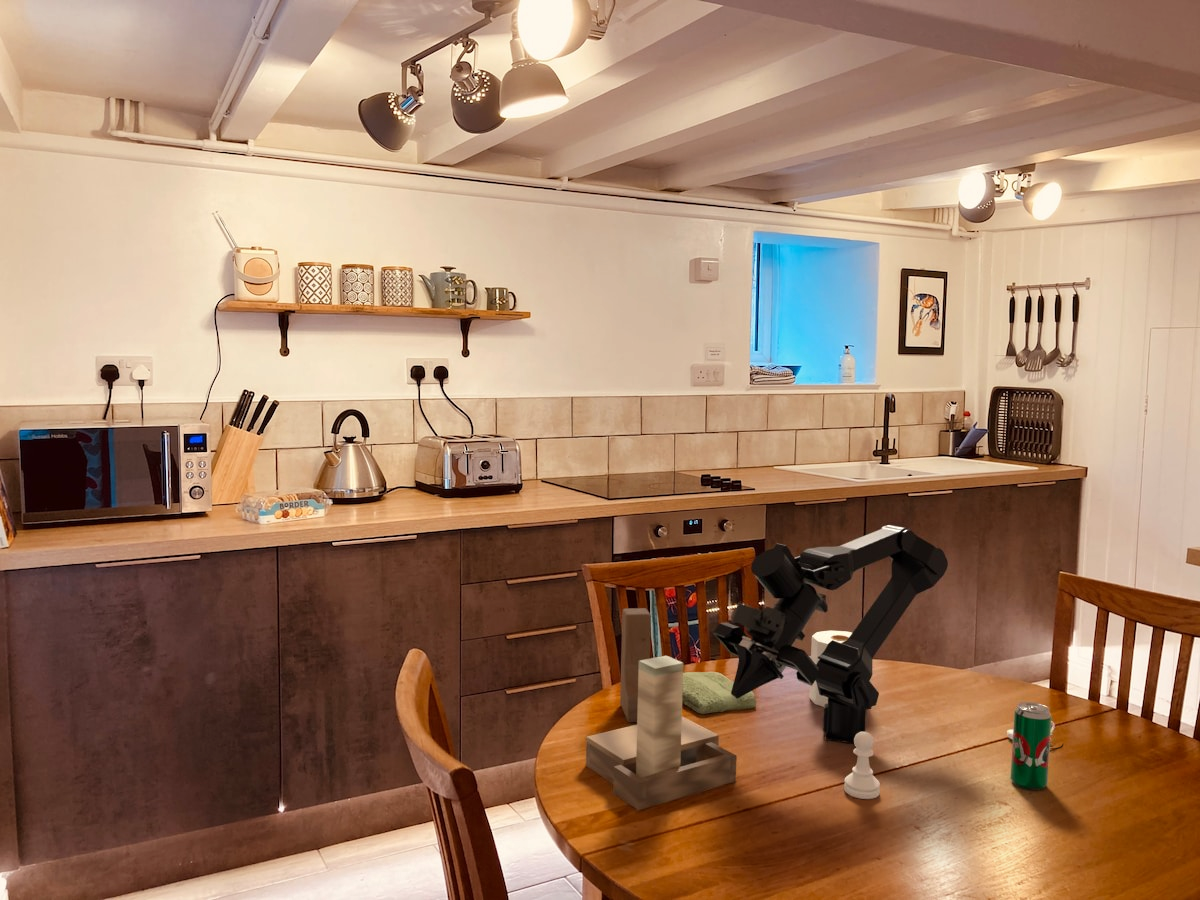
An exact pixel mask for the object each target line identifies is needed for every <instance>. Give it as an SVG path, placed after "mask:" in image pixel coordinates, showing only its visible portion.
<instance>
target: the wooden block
mask: <svg viewBox="0 0 1200 900" xmlns="http://www.w3.org/2000/svg"><path fill="white" fill-rule="evenodd" d="M621 614H622V615H621V617H622V618H621V651H620V652H621V653H620V657H621V658H620V692H619V693H620V700H619V703H620V707H621V709H622V712H623V713H624V716H625V719H626V721H627V722H628V723H630V724H631V723H633V724H634V723H636V724H637V711H638V670H639V661H640V660H645V659H651V657H650V655H651V654H650V653H651V621H652V620H651V613H650V612H649V610H648V609H647V608H645V607H643V608H642V607H641V608H640V607H638V608H637V607H635V608H632V607H631V608H623V609H622V612H621Z"/></svg>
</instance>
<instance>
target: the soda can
mask: <svg viewBox="0 0 1200 900" xmlns="http://www.w3.org/2000/svg"><path fill="white" fill-rule="evenodd" d="M1052 717H1053V716H1052V715H1051V713H1050V708H1049V707H1048V706H1046V705H1044V704H1042V703H1037V702H1033V701H1022V702H1019V703H1017V707H1016V708H1015V709H1014V713H1013V740H1012V747H1011V763H1010V780H1011V781H1012V782H1013V784H1014V785H1015V786H1017V787H1019V788H1022V789H1025V790H1030V791H1041V790H1043V789H1044V788H1045V787H1046V786H1048V775H1049V763H1050V751H1051V749H1050V746H1051V738H1050V735H1052V733H1051V729H1052V723H1051V721H1052Z"/></svg>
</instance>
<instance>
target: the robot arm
mask: <svg viewBox="0 0 1200 900" xmlns="http://www.w3.org/2000/svg"><path fill="white" fill-rule="evenodd" d="M887 558H890V560H892V561H891V562H890V579H889V581H888V582H887V584H886V585H885V586H884V588H883V589H882V590H881V592H880V593H879V595H878V596H877V598H876V599H875V601H874V602H873V603H872V604H871V606H870V607H869V609H868V610H867V611H866V613H865V614H864V616H863V617H862V619H861V620H860V622H858V624H857V626H856V627H855V629H853V631H852V632H851V633H852V634H851V636H850V637H849V638H848V639H847V640H846V641H844V642H842V643H839V642H836V641H833V640H832V641H831V642H830V643H828V645H827V647H826V649H825V650H824V652H823V653H822V654H821V655H820V656H818V659H820V660H819V661H818V662H817V664H815V663H814V662H813V660H812V659H811V656H809V655H808V652H807V651H805V650H804V649H801V648H798V647H795V646H793V645H794V643H795V642H796V640H799V641H802V642H803V640H804V638H805V637H806V634H805V633H804V632H803V630H804V628H805V626H806V625H807V624H808V623H809V621H810V620H811V617H812V616H813V615H814V613H815V612H816V611H819V612H822V613H827V612H828V610H829V609H828V603H827V600H826V599H827V596H826V594H823V593H819V592H818V591H817V589H816V588H815V587H818V588H820V589H821V588H822V589H824V590H828V591H835V590H838V589H839V588H841V587H843V586H844V585H845V584H847V583H849V582H850V581H851V580H852V578H853V575H854V573H855V572H857V571H858V570H861V569H863V568H866V567H867V566H870V565H872V564H875V563H877V562H879V561H882V560H884V559H887ZM948 562H949V561H948V559H947V557H946V554H945V552H944V550H943V549H942V548H939V547H937V546H935V545H934V544H932V543H930V542H929V541H926V540H924V539H923V538H922V537H919V536H918V535H917V534H916V533H914V532H913V531H912V530H910V529H909V528H908V527H903V526H900V525H899V526H897V525H893V524H888V525H883V526H882V527H880V529H878V530H875V531H873V532H870V533H868V534H866V535H863V536H861V537H857V538H855V539H853V540H850V541H849V542H848V541H847V542H846V543H844V544H841V545H838V546H837V545H836V546H818V547H812V548H811V547H810V548H807V549H806V548H805V550H803V551H802V552H801V553H800V554H799V555H797V556H793V554H792V552H791V549H790V548H789V547H788V545H786V544H782V543H776V544H775V545H774V547H773V548H770V549H767V550H765V551H763V552H761V553H760V554H759V555H756V556H755V558H753V560H752V563H751V566H750V567H751V568H750V570H751V573H752V574H753V575H754V576H755V578H756V579H757V581H758V582H759V583H760V584H761V586H763V589H765V591H767V593H768V594H769V595H770V597H772V598H774V599H777V601H776V602H775V603H774V605H773V606H772V607H770V606H765V607H763V608H762V609H761V610H760V609H758V608H756V607H752V606H751V605H746V604H743V603H740V602H738V603H737V605H736V608H735V610H734V614H733V616H732V618H731V623H733V624H731V623H729V622H727V621H726V622H719V623H718V625H717V627H716V628H715V629H714V631H713V632H712V634H713V635H714V637H715V638H716V639H717V640H718V641H719V642H720V644H722V645H723V646H724V648H725V649H726V650H727V651H728V652H729V653H730V654H732V655H733V656H736V657H738V662H737V669H736V672H735V677H734V680H733V682H734V683H733V687H732V691H731V695H732V696H733V697H735V698H737V699H738V698H740V697H742V696H743V695H745V694H747V693H749V692H751V691H752V692H753V691H754V690H756V689H758V688H759V687H761V686H764V685H767V684H768V683H771V682H772V681H775V680H777V679H781V680H782V679H783V678H784V675H783V672H784V671H785V669H786V667H787V668H791V669H794V670H795V671H796V674H795V675H796V679H797V680H798V681H799V682H801V683H803V684H806V685H809V686H810V685H811V686H812V685H813V683H814V682H815V680H816V683H817V687H818V691H819V695H821V696H825V697H828V704H825V705H824V707H823V720H822V721H823V722H822V732H823V733H825V736H824V738H825V740H826V741H834V742H842V743H849V744H854V737H855V735H856V734H857V733H859V732H867V728H866V727H867V726H866V722H867V710H871V709H872V708H873V707H874V706H876V705H877V703H878V699H879V695H880V693H879V691H878V690H877V688H876V687H875V686H874V685H873V683H872V682H871V679H872V677H873V660H874V657H875V655H876V654H877V652H878V651H879V649H880V648H881V647H882V645H883V644H884V643H885V641H886V639H887V638H888V636H889V635H890V634H891V633H892V631H893V630H894V627H895V626H896V625H897V624H898V622H899V620H900V619H901V618H902V617H903V615H904V613H905V612H906V610H907V609H908V607H909V606H910V605H911V604H912V602H913V601H914V599H915V598H916V596H917V595H919V594H922V593H923V592H926V591H928V590H930V589H931V588H933V587H934V586H935V585H936V584H937V583H938V582H939V581H940V580H941V579H942V577H944V575H945V574H946V571H947V570H948V565H949V564H948ZM734 624H735V625H734ZM736 624H738V625H741V626H743V627H745V632H746V633H747V634H748V635H750V636H751V638H750V637H749V636H748V635H747V634H746V633H745V632H744V631H743V629H742V628H741V627H740V626H738V625H736Z"/></svg>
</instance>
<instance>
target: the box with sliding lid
mask: <svg viewBox="0 0 1200 900" xmlns="http://www.w3.org/2000/svg"><path fill="white" fill-rule="evenodd" d="M719 735H720V734H718V733H715V732H713V731H711V730H709V729H708V728H705V727H703V726H702V725H700V724H697V723H696V722H695V721H692V720H691V719H688V718H686V717H684V716H683V715H682V727H681V761H680V767H678V768H674V769H671V770H667V771H663V772H660V773H656V774H653V775H649V776H645V777H642V778H641V777H639V776H638V775H636V752H637V724H634V725H633V724H632V725H629V726H625V727H621V728H617V729H612V730H609V731H605V732H600V733H595V734H591V735H587V736H586V742H585V743H586V746H585V747H586V748H585V766H586V767H588V768H589V769H590V770H591V771H593V772H595V773H596V774H597V775H599V776H601V777H602V778H604V779H605V780H606V781H608V782H610V783H611V784H612V785H613V791H612V792H613V794H614V795H615V796H616V797H618V798H620V799H621V800H623V802H625V803H627V804H628V805H630V807H632V808H634V809H635V810H636V811H641V810H645V809H648V808H649V809H650V808H652V807H655V806H658V805H662V804H665V803H670V802H672V801H676V800H677V799H682V798H685V797H686V798H687V797H688V796H692V795H695V794H699V793H702V792H705V791H708V790H712V789H715V788H718V787H721V786H726V785H729V784H732V783H736V782H737V755H736V754H735V753H732V752H730V751H729V750H727V749H726V748H723V747H722V746H719V739H720V737H719Z"/></svg>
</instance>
